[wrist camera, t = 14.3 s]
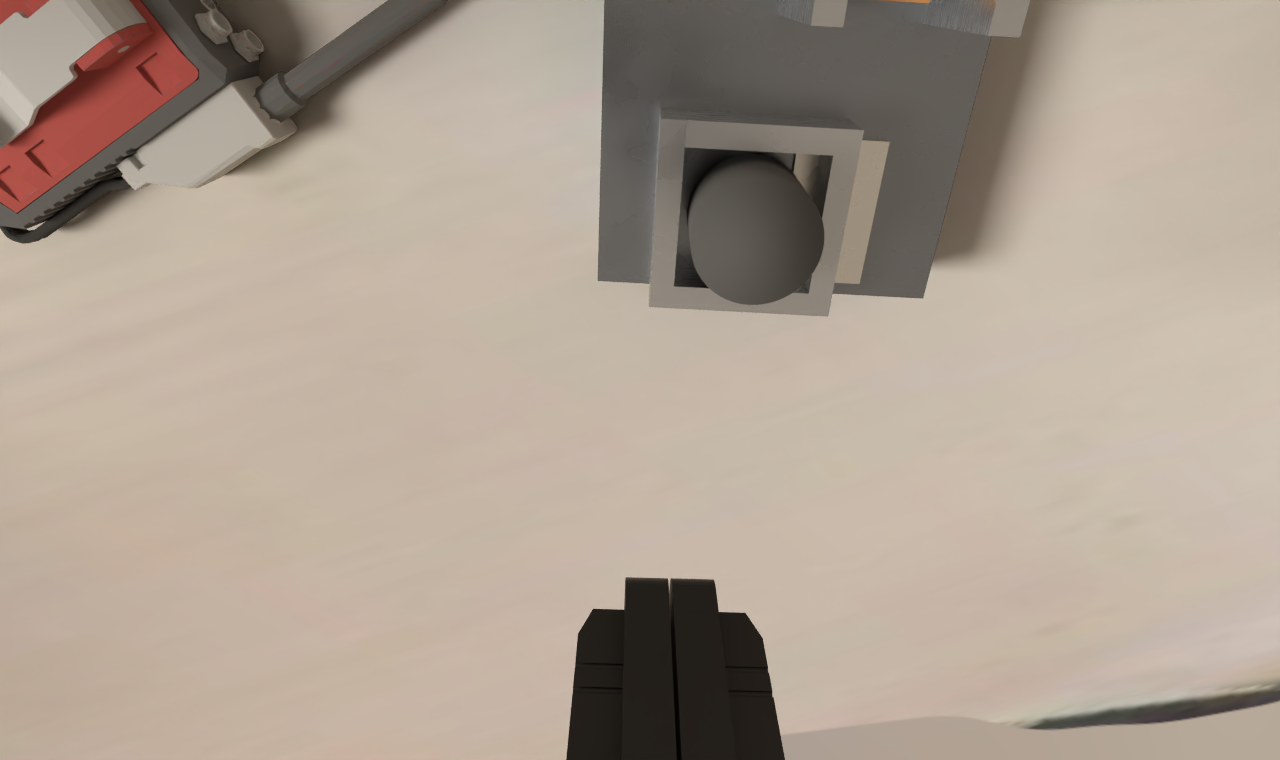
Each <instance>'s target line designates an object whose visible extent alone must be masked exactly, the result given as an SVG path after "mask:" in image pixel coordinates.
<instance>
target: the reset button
mask: <svg viewBox="0 0 1280 760" xmlns="http://www.w3.org/2000/svg"><path fill="white" fill-rule="evenodd" d="M687 224H688V232H689V239H690V247H691V254H692V259H693V263H694V266H695V268H696V271H697V273H698V275H699V276H700V278H701V279H702V281H703V282H704V283H705V284H706V286H707V287H709V288H710V289H711V290H712V291H713V292H714V293H716V294H717V295H719V296H720V297H722V298H724V299H726V300H729V301H731V302H735V303H739V304H745V305H761V304H767V303H771V302H775V301H777V300H780V299H783V298H784V297H786V296H788V295H790V294H792V293H793V292H795V291H796V290H797V289H799V288H800V287H801V286H802V285H803V284H804V283H805V282H806V281H807V280H808V279H809V278H810V276H811V275H812V273H813V272H814V271H815V269H816V267H817V265H818V263H819V261H820V258H821V255H822V251H823V247H824V226H823V221H822V218H821V215H820V212H819V210H818V208H817V206H816V205H815V203H814V202H813V200H812V199H811V198H810V196H809V195H808V193H807V192H806V190H805V189H804V188H803V186H802V185H801V183H800V182H799V180H798V179H797V178H796V176H795V175H794V174H793V173H792V171H791V170H790V169H789V168H787V167H786V166H785V165H784V164H782V163H780V162H779V161H777V160H775V159H773V158H770V157H767V156H763V155H757V154H744V155H737V156H734V157H730V158H728V159H725V160H723V161H721V162H719V163H718V164H716V165H714V166H713V167H712V168H711V169H709V170H708V171H707V172H706V173H705V174H704V175H703V176H702V177H701V179H700V180H699V181H698V183H697V184H696V186H695V188H694V189H693V192H692V194H691V196H690V200H689V203H688V209H687Z"/></svg>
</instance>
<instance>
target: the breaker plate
mask: <svg viewBox="0 0 1280 760" xmlns="http://www.w3.org/2000/svg"><path fill="white" fill-rule="evenodd" d="M1029 4H1030V0H930V2H929V3H916V2H899V1H881V0H605V4H604V45H603V87H602V129H601V170H600V212H599V253H598V281H611V282H629V283H648V284H649V307H662V308H680V309H699V310H717V311H736V312H755V313H773V314H792V315H810V316H828V314H829V308H830V303H831V298H832V294H851V295H869V296H888V297H906V298H923V296H924V292H925V289H926V285H927V281H928V277H929V273H930V269H931V266H932V262H933V258H934V254H935V250H936V246H937V243H938V239H939V235H940V231H941V227H942V224H943V220H944V216H945V212H946V208H947V204H948V201H949V197H950V193H951V189H952V185H953V181H954V178H955V174H956V170H957V166H958V162H959V158H960V155H961V151H962V147H963V143H964V139H965V135H966V132H967V128H968V124H969V120H970V116H971V112H972V109H973V105H974V101H975V97H976V93H977V89H978V86H979V82H980V78H981V74H982V70H983V67H984V63H985V59H986V55H987V51H988V47H989V44H990V40H991V36H999V37H1016V38H1020V36H1021V32H1022V29H1023V25H1024V21H1025V18H1026V14H1027V11H1028V7H1029ZM744 154H757V155H763V156H767V157H770V158H773V159H775V160H777V161H779V162H780V163H782V164H784V165H785V166H786V167H787V168H789V169H790V170H791V171H792V173H793V174H794V175H795V176H796V178H797V179H798V180H799V182H800V183H801V185H802V186H803V188H804V189H805V190H806V192H807V193H808V195H809V196H810V198H811V199H812V200H813V202H814V203H815V205H816V206H817V208H818V210H819V212H820V215H821V218H822V221H823V226H824V247H823V251H822V255H821V258H820V261H819V263H818V265H817V267H816V269H815V271H814V272H813V273H812V275H811V276H810V278H809V279H808V280H807V281H806V282H805V283H804V284H803V285H802V286H801V287H800V288H799V289H797V290H796V291H795V292H793V293H792V294H790V295H788V296H786V297H784V298H783V299H780V300H777V301H775V302H771V303H767V304H761V305H745V304H739V303H735V302H731V301H729V300H726V299H724V298H722V297H720V296H719V295H717V294H716V293H714V292H713V291H712V290H711V289H710V288H709V287H707V286H706V284H705V283H704V282H703V281H702V279H701V278H700V276H699V275H698V273H697V271H696V268H695V266H694V263H693V259H692V254H691V247H690V239H689V232H688V224H687V209H688V203H689V200H690V196H691V194H692V192H693V189H694V188H695V186H696V184H697V183H698V181H699V180H700V179H701V177H702V176H703V175H704V174H705V173H706V172H707V171H708V170H709V169H711V168H712V167H713V166H714V165H716V164H718V163H719V162H721V161H723V160H725V159H728V158H730V157H734V156H737V155H744Z"/></svg>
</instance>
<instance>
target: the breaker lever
mask: <svg viewBox="0 0 1280 760" xmlns="http://www.w3.org/2000/svg"><path fill="white" fill-rule="evenodd" d="M881 1H899V2H916V3H929V2H930V0H881Z"/></svg>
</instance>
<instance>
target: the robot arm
mask: <svg viewBox="0 0 1280 760" xmlns="http://www.w3.org/2000/svg"><path fill="white" fill-rule="evenodd" d="M566 760H785V758H784V752H783V747H782V741H781V736H780V730H779V725H778V720H777V714H776V709H775V703H774V698H773V697H772V687H771V682H770V676H769V673H768V665H767V660H766V655H765V649H764V644H763V638H762V637H761V635H760V634H759V632H758V631H757V629H756V628H755V626H754V625H753V624H752V622H751V621H750V619H749V618H748V616H747V615H746V613H729V612H719V611H718V603H717V595H716V587H715V582H714V580H707V579H672V578H671V581H670V590H669V584H668V579H664V578H629V577H626V580H625V604H624V610H612V609H593V610H592V612H591V613H590V615H589V617H588V618H587V620H586V622H585V623H584V625H583V627H582V628H581V630H580V632H579V633H578V642H577V652H576V665H575V674H574V684H573V695H572V706H571V717H570V727H569V738H568V749H567V759H566Z"/></svg>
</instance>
